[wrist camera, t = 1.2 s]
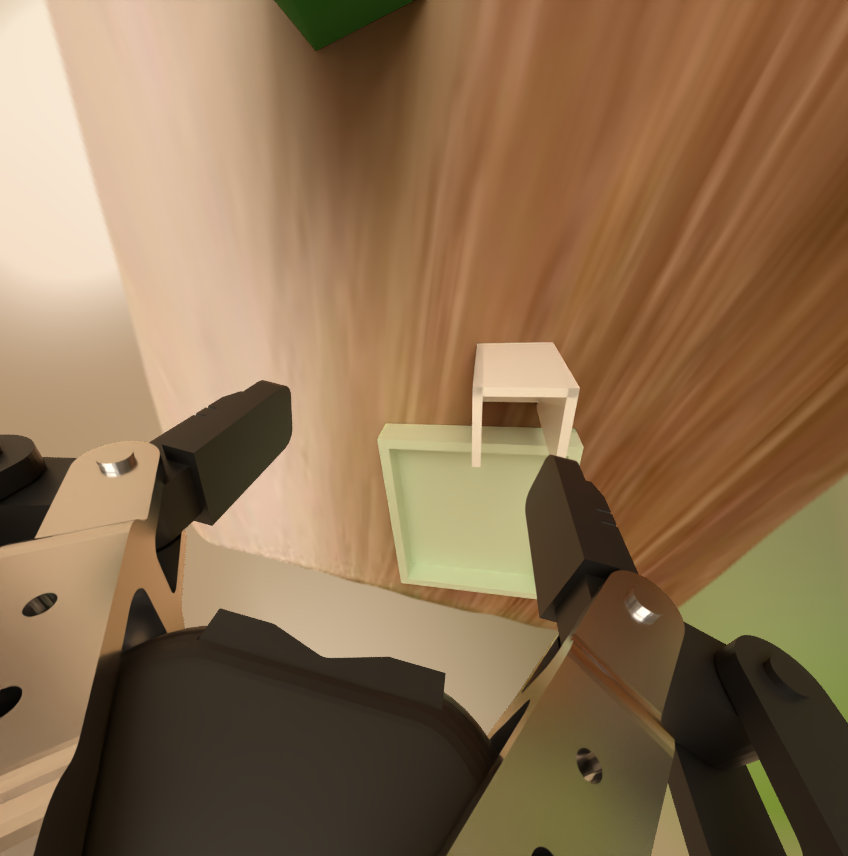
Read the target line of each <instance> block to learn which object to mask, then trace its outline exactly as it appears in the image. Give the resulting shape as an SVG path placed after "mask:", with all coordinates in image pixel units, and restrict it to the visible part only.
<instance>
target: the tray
mask: <svg viewBox="0 0 848 856" xmlns="http://www.w3.org/2000/svg"><path fill="white" fill-rule="evenodd" d="M377 442H378V448H379V454H380V459H381V465H382V471H383V477H384V483H385V489H386V495H387V501H388V507H389V513H390V519H391V525H392V530H393V536H394V542H395V548H396V554H397V560H398V566H399V572H400V578H401V583H406V584H415V585H423V586H431V587H440V588H448V589H456V590H464V591H473V592H481V593H489V594H498V595H506V596H514V597H522V598H531V599H537V595H536V587H535V580H534V573H533V565H532V558H531V551H530V544H529V536H528V529H527V522H526V514H525V504H526V498H527V495H528V492H529V490H530V488H531V486H532V484H533V482H534V480H535V478H536V476H537V474H538V472H539V471H540V469H541V467H542V465H543V463H544V461H545V459H546V458H547V456H548V455H549V452H548V448H547V445H546V441H545V437H544V434H543V430H542V428H530V427H495V426H482V436H481V466H480V467H472V426H460V425H425V424H390V423H386V424H385V426H384V428H383V429H382V431H381V433H380V435H379V437H378V439H377ZM583 448H584V447H583V445H582V443H581V440H580V438H579V436H578V434H577V431H576V429H572V430H571V435H570V440H569V445H568V450H567V455H566V458H567V459H571V460H575V461H577V462H578V463H579V465H580V461H581V456H582V452H583Z"/></svg>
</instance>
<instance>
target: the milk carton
mask: <svg viewBox="0 0 848 856" xmlns="http://www.w3.org/2000/svg"><path fill="white" fill-rule="evenodd" d="M274 1H275V2H276V3H277V4H278V5H279V7H280V8H281V9H282V10H283V11H284V13H285V14H286V15H287V16H288V18H289V19H290V20H291V21H292V22H293V24H294V25H295V26H296V27H297V29H298V30H299V31H300V32H301V33H302V35H303V36H304V37H305V38H306V40H307V41H308V42H309V43H310V44H311V46H312V47H313V48H314V49H315V51H317V50H319V49H321V48H323V47H325V46H327V45H329V44H330V43H332V42H334V41H336V40H338V39H340V38H342V37H344V36H346V35H348V34H350V33H352V32H354V31H356V30H358V29H360V28H362V27H364V26H366V25H368V24H369V23H371V22H373V21H375V20H377V19H379V18H381V17H383V16H385V15H387V14H389V13H391V12H393V11H395V10H397V9H399V8H401V7H403V6H405V5H407V4H408V3H410V2H412V1H414V0H274Z"/></svg>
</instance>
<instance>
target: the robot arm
mask: <svg viewBox="0 0 848 856" xmlns="http://www.w3.org/2000/svg"><path fill="white" fill-rule="evenodd" d="M291 435H292V410H291V392H290V389H289V388H288V387H287V386H284V385H280V384H276V383H272V382H268V381H264V380H261V381H259V382H257V383H256V384H254V385H253V386H251V387H249V388H248V389H246V390H245V391H243V392H242V391H241V392H237V393H234V394H231V395H228V396H225V397H222V398H220V399H219V400H217V401H215V402H214V403H212V404H211V405H209V406H208V408H204V409H203V410H201V411H199V412H198V413H196V416H194V415H193V416H191V417H190V418H188V419H186V420H185V421H183V422H182V423H180V424H178V425H177V426H175V427H173V428H172V429H170V430H169V431H167V432H165V433H164V434H162V435H161V436H159V437H157V438H156V439H154V440H153V441H151V442H149V443H148V442H143V441H121V442H115V443H110V444H106V445H103V446H100V447H97V448H94V449H92V450H90V451H88V452H86V453H84V454H83V455H81V456H80V457H78V458H50V457H42V456H41V454H40V453H39V451H38V449H37V448H36V446H35V444H34V443H33V441H32V440H31V439H29V438H27V437H23V436H19V435H0V856H651V853H652V848H653V844H654V840H655V835H656V831H657V826H658V822H659V818H660V813H661V809H662V805H663V801H664V796H665V792H666V787H667V783H668V784H669V788H670V791H671V794H672V798H673V801H674V805H675V808H676V811H677V815H678V818H679V822H680V825H681V829H682V832H683V836H684V839H685V842H686V846H687V849H688V852H689V856H787V855H786V853H785V851H784V849H783V846H782V844H781V842H780V840H779V837H778V835H777V833H776V831H775V829H774V826H773V824H772V822H771V820H770V818H769V815H768V813H767V811H766V809H765V806H764V804H763V802H762V800H761V797H760V795H759V793H758V791H757V789H756V786H755V784H754V782H753V780H752V777H751V775H750V773H749V771H748V768H747V766H746V764H749V763H751V762H754V761H757V760H760V762H761V764H762V766H763V768H764V770H765V772H766V774H767V776H768V778H769V780H770V782H771V784H772V787H773V788H774V791H775V793H776V795H777V797H778V799H779V801H780V803H781V805H782V807H783V809H784V812H785V814H786V816H787V818H788V820H789V822H790V824H791V826H792V828H793V830H794V832H795V835H796V837H797V839H798V841H799V844H800V847H801V849H802V853H803V856H848V723H847V722H846V720H845V719H844V717H843V716H842V715H841V713H840V712H839V710H838V709H837V707H836V706H835V704H834V703H833V702H832V700H831V699H830V697H829V696H828V694H827V693H826V692H825V690H824V689H823V688H822V686H821V685H820V684H819V683H818V682H817V681H816V679H815V678H814V677H813V676H812V675H811V674H810V673H809V672H808V671H807V670H806V669H805V668H804V667H803V666H802V665H800V664H799V663H798V662H797V661H796V660H795V659H793V658H792V657H791V656H790V655H788V654H787V653H785V652H784V651H783V650H781V649H780V648H778V647H776V646H775V645H773V644H772V643H770V642H768V641H766V640H763V639H761V638H758V637H755V636H751V635H743V636H740V637H738V638H737V639H735V640H734V641H732V642H731V643H729V644H728V645H726V644H724V643H722V642H720V641H718V640H717V639H715V638H713V637H711V636H709V635H707V634H705V633H704V632H702V631H700V630H698V629H696V628H695V627H692V626H691V625H689V624H687V623H685V622H684V621H683V619H682V616H681V614H680V612H679V610H678V609H677V607H676V605H675V604H674V603H673V602H672V600H671V599H670V598H669V597H668V596H667V595H666V593H664V592H663V591H662V590H661V589H660V588H659V587H658V586H656V585H655V584H654V583H653V582H651V581H650V580H648V579H646V578H645V577H643V576H641V575H639V574H638V572H637V570H636V567H635V565H634V563H633V561H632V558H631V556H630V554H629V552H628V549H627V547H626V545H625V543H624V540H623V538H622V536H621V534H620V531H619V529H618V527H616V522H615V520H614V518H613V516H612V514H610V512H611V511H610V509H609V507H608V504H607V502H606V500H605V498H604V496H603V495H602V494H601V493H600V492H599V490H598V489H597V488H596V487H595V486H594V485H593V484H592V482H589V481H585V478H584V476H583V473H582V471H581V468H580V466H579V463H578V462H577V461H575V460H571V459H567V458H563V457H559V456H555V455H548V456H547V458H546V459H545V461H544V463H543V465H542V467H541V469H540V471H539V472H538V474H537V476H536V478H535V480H534V482H533V484H532V486H531V488H530V490H529V492H528V495H527V498H526V504H525V514H526V522H527V529H528V536H529V544H530V551H531V558H532V565H533V573H534V580H535V587H536V595H537V602H538V609H539V616H540V618H543V619H546V620H550V621H553V622H557V626H558V631H559V634H558V635H557V637H556V638H555V639H554V640H553V641H552V643H551V644H550V646H549V647H548V649H547V650H546V652H545V654H544V655H543V656H542V658H541V660H540V661H539V662H538V664H537V666H536V667H535V669H534V670H533V672H532V673H531V675H530V676H529V678H528V679H527V681H526V682H525V684H524V685H523V687H522V688H521V690H520V691H519V693H518V694H517V696H516V697H515V699H514V700H513V701H512V703H511V704H510V705H509V707H508V708H507V709H506V711H505V712H504V713H503V714H502V716H501V717H500V718H499V720H498V721H497V723H496V724H495V725H494V727H493V728H492V730H491V731H490V732H489V734H488V735H487V736H486V734H485V733H484V731H483V730H482V728H481V727H480V726H479V724H478V723H477V722H476V721H475V720H474V719H473V717H472V716H471V715H470V714H469V713H468V712H467V711H466V710H465V709H464V708H463V707H462V706H461V705H460V704H458V703H457V702H456V701H455V700H454V699H453V698H452V697H450V696H449V695H447V694H445V693H444V683H445V673H443V672H440V671H436V670H432V669H429V668H426V667H422V666H419V665H415V664H412V663H408V662H405V661H401V660H398V659H394V658H391V657H362V658H325V657H322V656H320V655H318V654H317V653H316V652H314V651H313V650H311V649H310V648H308V647H307V646H305V645H304V644H302V643H301V642H300V641H298V640H297V639H295V638H294V637H292V636H291V635H289V634H288V633H286V632H285V631H284V630H282V629H281V628H279V627H277V626H276V625H274V624H272V623H269V622H265V621H262V620H258V619H255V618H251V617H248V616H244V615H241V614H237V613H234V612H230V611H227V610H224V609H219V610H218V612H217V613H216V615H215V616H214V618H213V619H212V620H211V622H210V623H209V624H208V626H199V627H192V628H186V629H185V627H184V619H183V613H182V590H183V578H184V566H185V553H186V539H187V535H186V531H185V528H186V527H187V526H188V525H189V524H190V523H192V522H193V521H197V522H201V523H204V524H208V525H211V526H213V525H214V523H215V522H216V521H217V520H218V519H219V518H220V517H221V516H222V515H223V514H224V513H225V512H226V511H227V510H228V509H229V507H230V506H231V505H232V504H233V503H234V502H235V501H236V500H237V499H238V498H239V497H240V496H241V495H242V494H243V493H244V492H245V490H246V489H247V488H248V487H249V486H250V485H251V484H252V483H253V482H254V481H255V480H256V479H257V478H258V477H259V476H260V474H261V473H262V472H263V471H264V470H265V469H266V468H267V467H268V466H269V465H270V464H271V463H272V462H273V461H274V460H275V459H276V457H277V456H278V455H279V454H280V453H281V452H282V451H283V450H284V449H285V448H286V446H287V445H288V443H289V441H290V438H291Z"/></svg>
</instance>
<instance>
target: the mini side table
mask: <svg viewBox="0 0 848 856" xmlns="http://www.w3.org/2000/svg"><path fill="white" fill-rule="evenodd" d="M579 390H580V387H579V386H578V384H577V382H576V381H575V379H574V377H573V376H572V374H571V372H570V371H569V369H568V367H567V365H566V364H565V362H564V360H563V359H562V357H561V355H560V354H559V352H558V350H557V349H556V347H555V345H554V343H553V342H537V343H479V344H477V349H476V359H475V369H474V379H473V399H472V467H480V466H481V436H482V406H483V402H537V412H538V416H539V419H540V423H541V427H542V430H543V434H544V437H545V441H546V445H547V448H548V452H549V455H555V456H559V457H563V458H566V455H567V450H568V445H569V440H570V435H571V430H572V425H573V420H574V415H575V410H576V405H577V400H578V395H579Z"/></svg>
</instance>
